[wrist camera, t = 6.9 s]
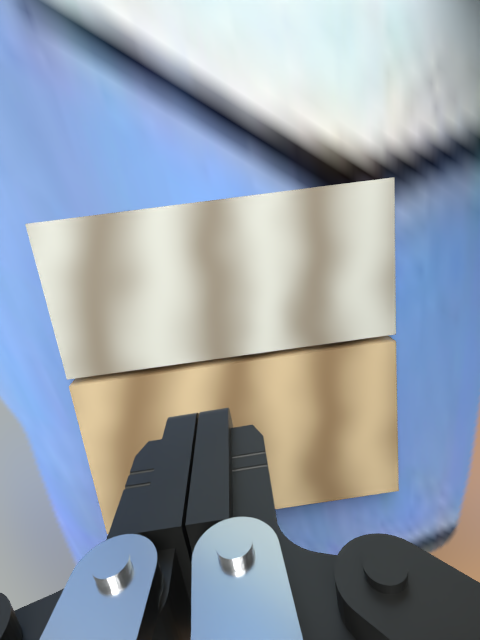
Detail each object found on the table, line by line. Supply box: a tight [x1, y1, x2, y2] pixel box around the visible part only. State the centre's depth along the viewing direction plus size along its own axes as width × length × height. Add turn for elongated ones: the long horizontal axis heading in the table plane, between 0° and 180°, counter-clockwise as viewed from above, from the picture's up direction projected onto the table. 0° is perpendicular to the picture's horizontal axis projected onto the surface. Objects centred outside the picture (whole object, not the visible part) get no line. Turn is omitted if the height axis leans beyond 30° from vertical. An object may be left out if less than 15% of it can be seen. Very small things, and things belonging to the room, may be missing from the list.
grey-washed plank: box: [26, 178, 396, 379], centre depth 26 cm, size 22×10×2 cm, turn 97°
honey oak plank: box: [69, 335, 399, 534], centre depth 29 cm, size 22×12×2 cm, turn 97°
